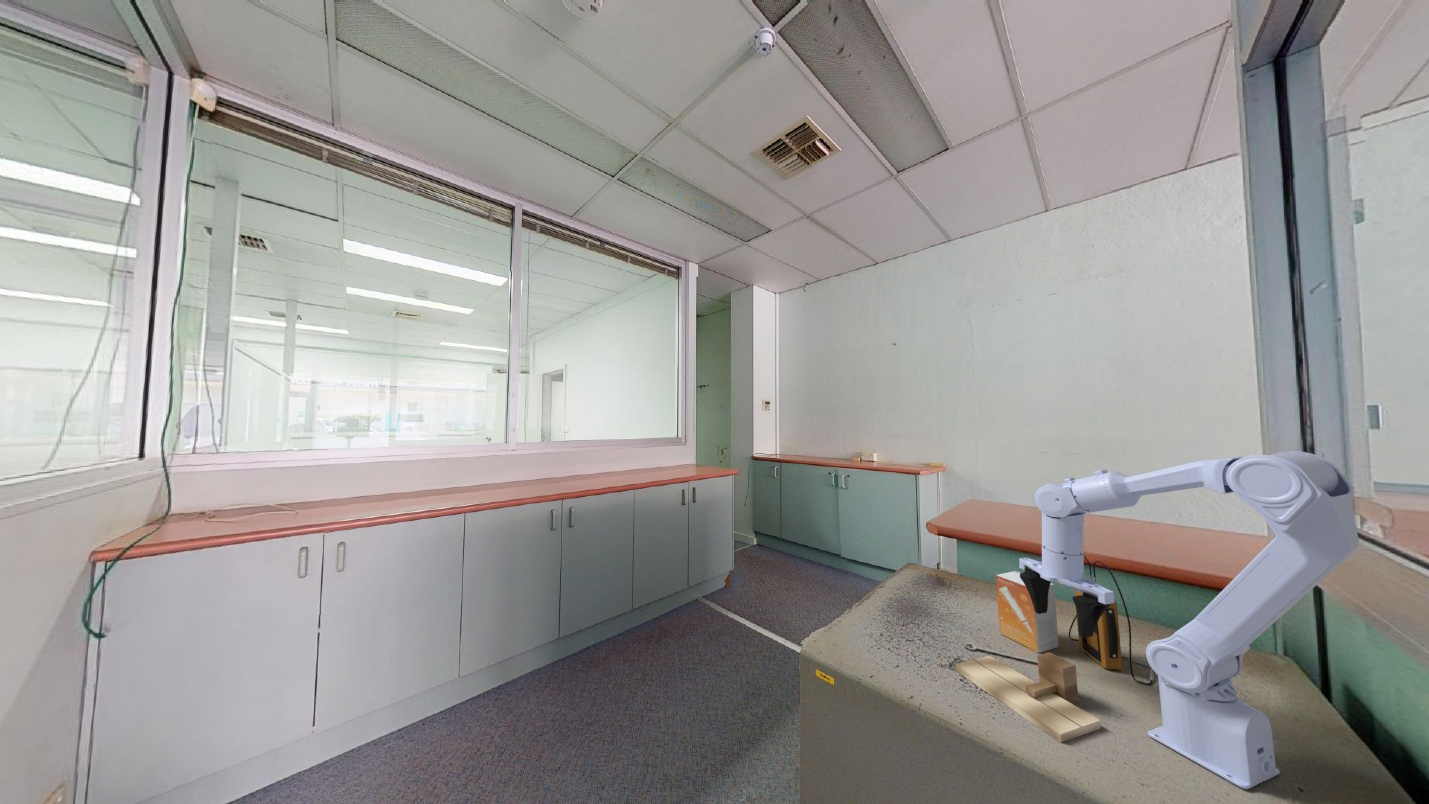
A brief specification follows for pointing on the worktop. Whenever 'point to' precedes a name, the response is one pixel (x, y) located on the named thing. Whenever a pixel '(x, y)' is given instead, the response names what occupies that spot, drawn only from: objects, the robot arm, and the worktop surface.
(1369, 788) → the worktop surface
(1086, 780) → the worktop surface
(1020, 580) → the small box
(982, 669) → the board
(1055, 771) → the worktop surface
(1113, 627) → the multimeter
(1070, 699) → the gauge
